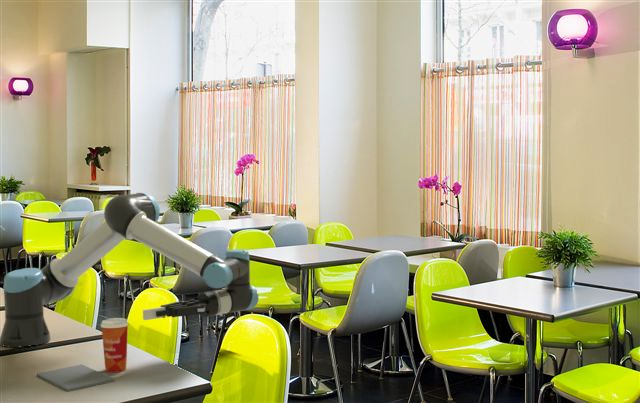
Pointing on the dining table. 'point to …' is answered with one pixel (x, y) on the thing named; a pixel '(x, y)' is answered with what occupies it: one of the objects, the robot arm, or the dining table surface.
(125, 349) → the paper cup
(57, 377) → the mat
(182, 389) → the dining table surface
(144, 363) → the dining table surface
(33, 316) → the robot arm
